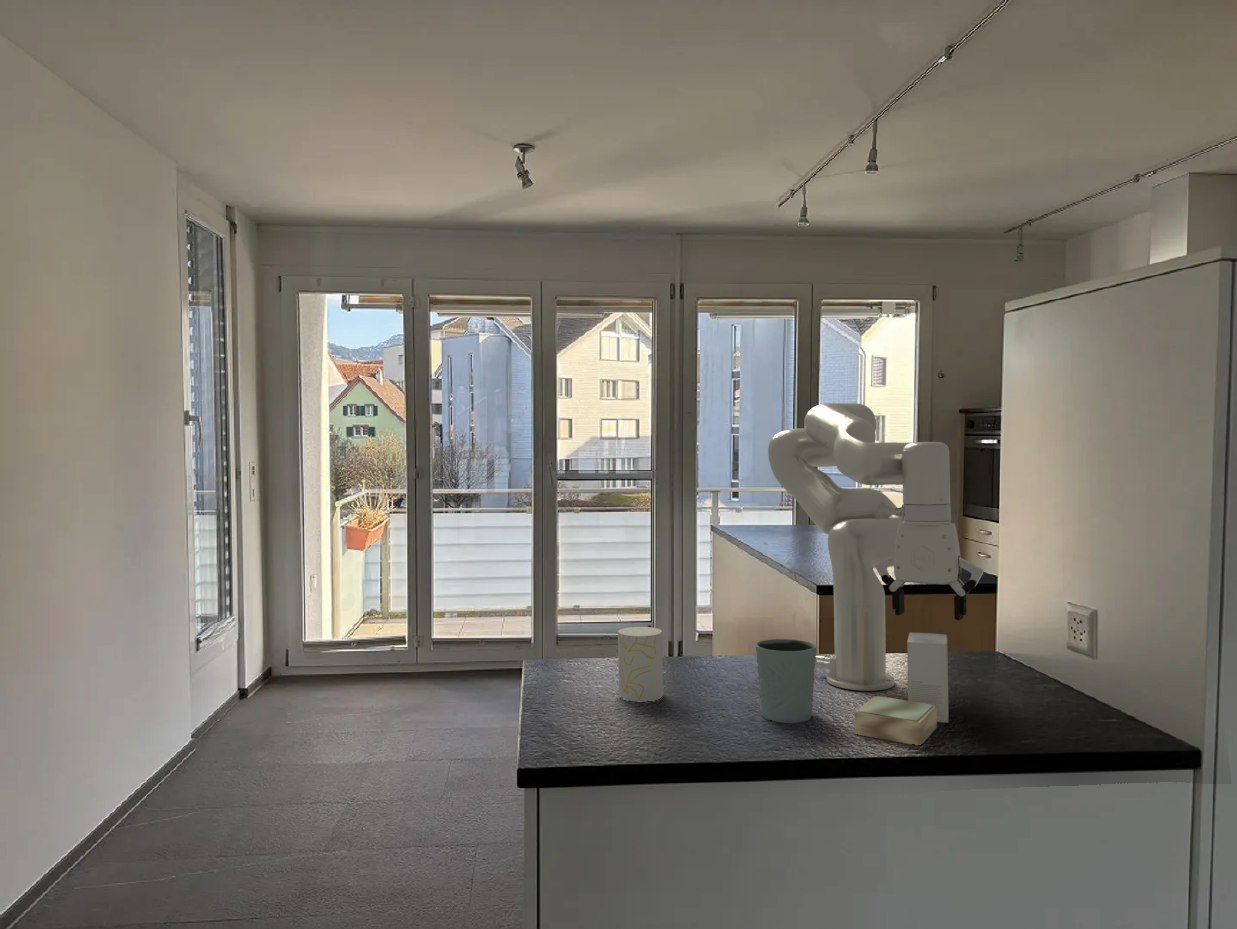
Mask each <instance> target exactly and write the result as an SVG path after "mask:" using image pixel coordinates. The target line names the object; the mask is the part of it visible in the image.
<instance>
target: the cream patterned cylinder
mask: <svg viewBox="0 0 1237 929" xmlns="http://www.w3.org/2000/svg"><path fill="white" fill-rule="evenodd" d="M617 643H618V644H617V648H618V649H617V650H618V652H617V653H618V656H617V657H618V658H617V659H618V660H617V661H618V662H617V664H618V666H617V667H618V696H619V695H620V696H621V697H623V698H625V699H628V700H632V701H653V702H656V701H655V700H657V701H659V700H658V699H660V698H661V697H662V696H663V697H664V685H663V681H664V679H663V678H664V677H663V676H664V674H663V671H664V670H663V630H662V629H660V628H658V627H657V628H656V627H650V626H629V627H624V628H621V629H619V630H617ZM663 697H662V698H663ZM662 698H661V699H662ZM661 699H660V700H661Z"/></svg>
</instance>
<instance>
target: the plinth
mask: <svg viewBox="0 0 1237 929" xmlns="http://www.w3.org/2000/svg"><path fill="white" fill-rule="evenodd" d="M937 728H938V722H937V706H933V705H932V704H926V703H919V702H913V701H908V700H906V699H900V698H899V699H898V698H892V697H886V696H879V695H877V696H873V697H872V698H871V699H869V700H868V701H867V702H866V703H865V704H863V705H861V706H860V707H859V708H858V709H857V710H855V711H854V735H857V734H858V736H863V737H869V738H874V739H879V740H886V741H889V742H891V741H892V742H895V743H896V742H897V743H901V744H908V745H912V744H915V745H914V746H918V745H921V744H922V745H923V744H924V743H925V741H926V740H927V739H928V738H929V737H930V736H931V735H932V734H933V733H934V731H936V729H937ZM922 745H921V746H922Z"/></svg>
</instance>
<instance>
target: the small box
mask: <svg viewBox="0 0 1237 929" xmlns="http://www.w3.org/2000/svg"><path fill="white" fill-rule="evenodd" d="M906 648H907V649H906V650H907V651H906V653H907V656H906V657H907V701H913V702H919V703H926V704H932V705H933V706H937V723H949V665H948V664H949V663H948V660H949V659H948V634H943V633H942V634H941V633H932V632H931V633H930V632H912V631H910V632H908V635H907V640H906Z"/></svg>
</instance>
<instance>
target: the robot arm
mask: <svg viewBox="0 0 1237 929" xmlns="http://www.w3.org/2000/svg"><path fill="white" fill-rule="evenodd" d="M803 421H804V422H803V425H804V428H802V427H801V428H790V429H785V430H782V431H779V432H777V433H776V434H775V435H773V436H772V438H771V439H770V440H769V443H768V447H767V455H768V461H769V466H770V469H771V471H772V474H773V476H774V477H775V479H776V481H777V482H778V483H779V484H780V486H781V487H782V488H783V489H784V490H785V491H786V492H787V493H789V495H790V496H792V497H793V499H795V500H796V502H797V503H798V504H799V506H800V507H801V508H802V510H804V512H805V514H807V516H808V517H809V518H810V520H811V521H812V522H813V524H814V525H815V526H816V527H817V528H818V529H819V531H820V532H822V533H824V534H826V535H828V536H827V546H828V548H827V550H828V553H829V559H830V565H831V571H832V583H833V618H834V620H833V625H834V626H833V628H834V629H833V630H834V632H833V633H834V634H833V636H834V637H833V638H834V640H833V641H834V646H833V647H834V655H831V657H829V656H826V655H825V656H823V655H816V659H815V666H816V668H821V669H827V670H828V671H829V672H827V674H826V682H827V683H828V684H830V685H832V686H834V687H836V688H841V689H845V690H849V691H850V690H851V691H852V690H853V691H861V692H862V691H863V692H871V691H872V692H875V691H883V690H888V689H890V688H892V687H894V686H895V677H894V676H893V675H891V674H889V673H887V672H886V670H887V666H886V665H887V664H886V663H887V660H886V657H887V656H886V653H887V652H886V647H887V646H886V592H885V589H884V586H883V583H884V584H885V586H886V587H888V589H889V591H890V592H891V602H892V603H891V604H892V605H891V607H892V610H894V615H895V616H901V615H903V614H905V591H904V589H903V587H904V585H905V584H906V583H911V584H912V583H914V584H915V583H916V584H929V585H931V584H932V585H949V586H950V587H951V588H952V589H953V590H954V592H955V595H954V597H953V605H954V606H953V607H954V608H953V609H954V611H953V613H954V620H956V621H961V620H963V618H964V616H966V615H967V611H968V609H967V594H969V593H970V592H971V591H972V590H973V589H974V588H975V587H977V585H978V583H979V582H980V580H981V578H982V576H983V575H984V569H983V568H982V567H980V566H978V565H977V564H974V563H972V562H970V561H969V560H966V559H965V558H962V557H961V550H960V543H959V535H958V531H957V526H956V523H954V522H952V515H951V514H952V513H951V510H952V509H951V508H952V507H951V506H952V505H951V474H950V473H951V470H950V469H951V468H950V467H951V466H950V464H951V462H950V448H949V447H948V445H947V444H946V443H945V442H940V441H919V442H917V441H916V442H897V441H896V442H894V441H892V442H891V441H890V442H876V436H877V435H876V430H877V423H878V422H877V419H876V414H874V412H873V410H872V409H871V408H870V407H868V406H867V405H865V404H861V403H853V402H851V403H848V402H847V403H845V402H843V403H837V402H836V403H835V402H833V403H831V402H828V403H827V402H826V403H825V402H824V403H821V404H817V405H815V406H813V407H812V408H811V409H809V410H808V411H807V413H806V414H805V416H804V419H803ZM823 467H825V468H826V467H829V468H830V467H836V468H837V470H838V471H839V472H840V473H841V474H842V475H844V476H845V477H847V478H849V479H850V480H852V481H853V482H856V483H857V484H860V485H864V486H865V485H866V486H884V485H887V486H888V485H890V486H891V485H892V486H893V485H895V486H902V504H901V506H900V507H897V505H896V504H895V503H894V502H892V500H891V499H890V498H889V497H888V496H887V495H886V494H884V493H883V492H881V491H880V490H877V489H874V488H845V487H841V486H839V485H837V484H836V483H835V482H834V481H833V479H832V478H831V477H830V476H829V475H828V474H826V473H825V472H823V471H822V470H820V469H818V468H823ZM891 567H892V568H893V573H894V578H895V579H894V578H893V577H892V575H890V574H889V572H888V568H891ZM874 569H876V572H877V574H879V576H880V579H881V580H880V579H879V577H878V576H877V574H876V573H875V571H874ZM962 569H964V570H965V571H966V572H969V573H970V574H971V576H970V578H969V579H968V581H967V582H966V583H964V582H963V581H962V579H961V578H962ZM881 581H882V582H883V583H882V582H881Z"/></svg>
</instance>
